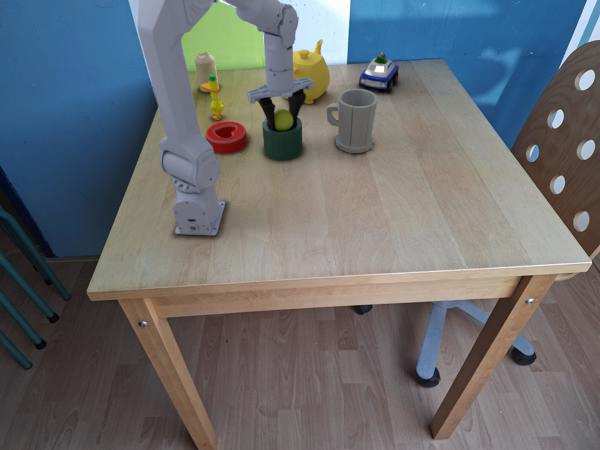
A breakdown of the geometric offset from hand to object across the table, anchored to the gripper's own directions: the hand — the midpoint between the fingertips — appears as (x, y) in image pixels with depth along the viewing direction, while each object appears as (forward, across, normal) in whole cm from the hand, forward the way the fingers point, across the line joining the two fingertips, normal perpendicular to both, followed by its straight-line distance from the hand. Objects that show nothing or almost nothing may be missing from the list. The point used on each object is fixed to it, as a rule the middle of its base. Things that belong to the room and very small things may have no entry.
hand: (282, 124), depth 96 cm
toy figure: (+7, -10, +22) cm, 25 cm away
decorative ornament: (+7, -11, +9) cm, 16 cm away
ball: (-1, 0, 0) cm, 1 cm away
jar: (+7, 0, 0) cm, 7 cm away
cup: (+7, +15, -5) cm, 18 cm away
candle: (+7, -6, +39) cm, 40 cm away
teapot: (+7, +17, +23) cm, 29 cm away
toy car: (+7, +39, +18) cm, 43 cm away
